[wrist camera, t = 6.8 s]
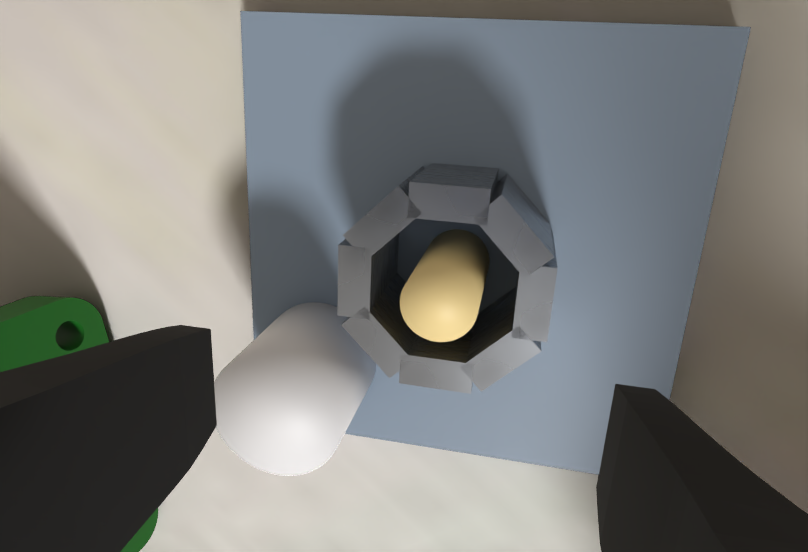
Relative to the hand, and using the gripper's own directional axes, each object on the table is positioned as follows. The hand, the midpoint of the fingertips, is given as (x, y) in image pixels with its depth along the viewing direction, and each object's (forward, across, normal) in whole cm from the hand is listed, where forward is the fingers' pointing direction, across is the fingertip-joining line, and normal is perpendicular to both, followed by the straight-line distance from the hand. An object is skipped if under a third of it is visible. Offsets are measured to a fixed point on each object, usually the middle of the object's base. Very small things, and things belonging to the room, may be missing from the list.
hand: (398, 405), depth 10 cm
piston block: (+10, 0, 0) cm, 10 cm away
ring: (+9, 0, 0) cm, 9 cm away
